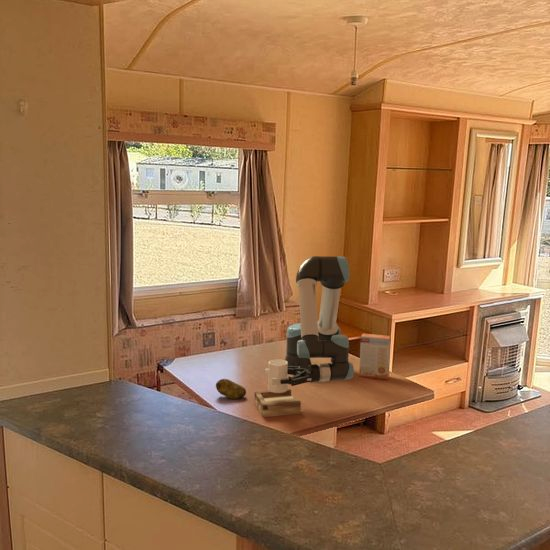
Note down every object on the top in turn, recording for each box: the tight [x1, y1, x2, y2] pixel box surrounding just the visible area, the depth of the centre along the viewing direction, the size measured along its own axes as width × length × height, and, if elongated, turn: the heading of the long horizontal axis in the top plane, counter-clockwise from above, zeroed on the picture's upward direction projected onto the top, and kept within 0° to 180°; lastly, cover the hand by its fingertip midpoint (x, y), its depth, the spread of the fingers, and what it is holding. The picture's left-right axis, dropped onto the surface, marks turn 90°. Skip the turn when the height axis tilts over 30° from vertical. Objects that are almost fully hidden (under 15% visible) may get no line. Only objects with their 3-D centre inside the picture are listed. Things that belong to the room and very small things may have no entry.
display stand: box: [254, 388, 302, 418], centre depth 239 cm, size 15×16×5 cm
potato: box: [215, 378, 247, 400], centre depth 249 cm, size 8×13×8 cm, turn 68°
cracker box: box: [358, 332, 392, 381], centre depth 277 cm, size 14×6×21 cm, turn 71°
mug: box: [267, 358, 289, 393], centre depth 237 cm, size 12×8×12 cm
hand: (268, 376), depth 235 cm, fingers closed on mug, 11 cm apart
